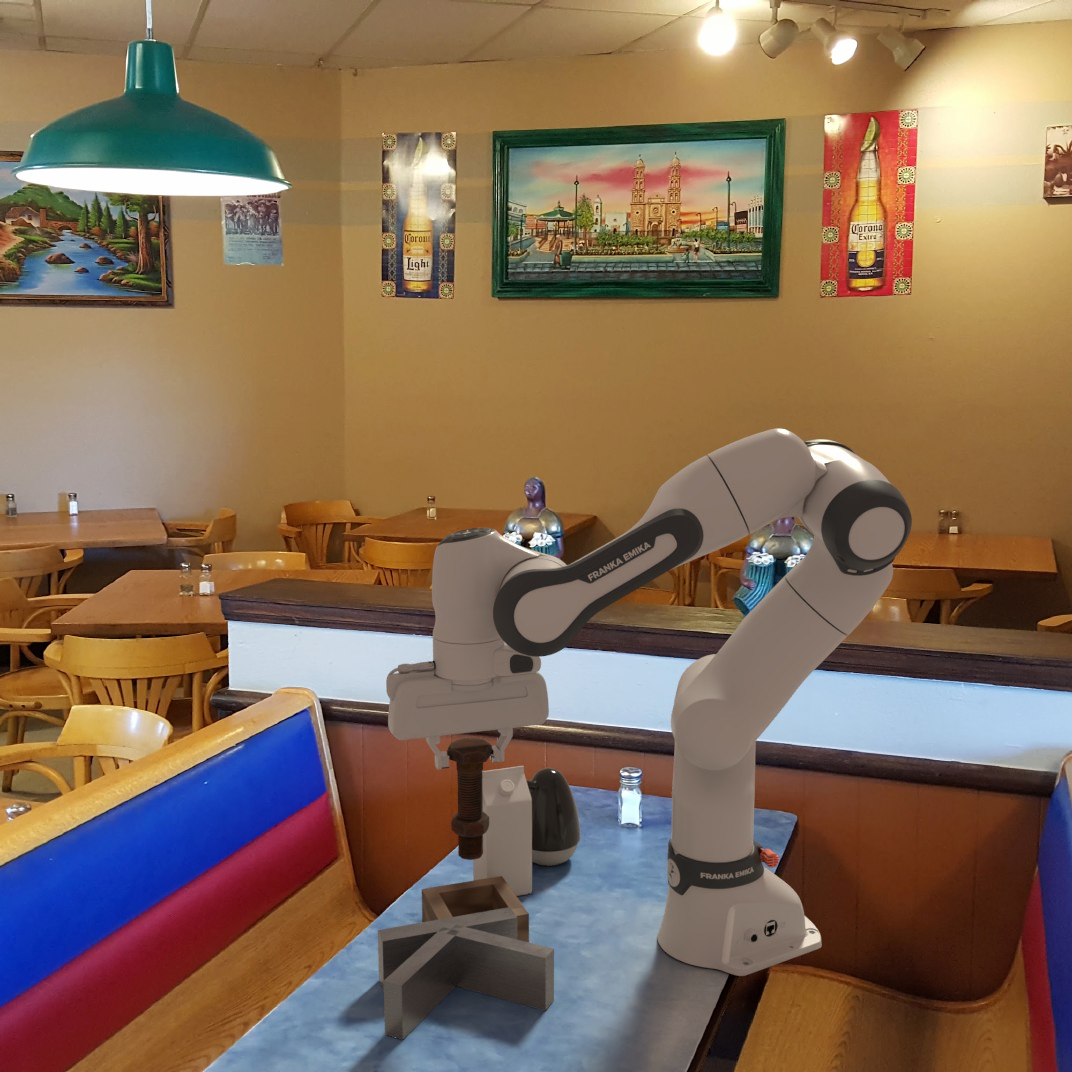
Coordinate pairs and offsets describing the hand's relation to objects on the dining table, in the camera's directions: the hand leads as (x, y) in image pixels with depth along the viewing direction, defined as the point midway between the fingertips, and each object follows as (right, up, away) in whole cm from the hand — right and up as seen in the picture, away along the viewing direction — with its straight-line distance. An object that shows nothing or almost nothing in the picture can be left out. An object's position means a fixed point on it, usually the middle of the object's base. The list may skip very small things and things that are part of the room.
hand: (469, 764), depth 143 cm
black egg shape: (+10, -23, +39) cm, 47 cm away
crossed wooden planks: (-1, -29, +1) cm, 29 cm away
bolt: (0, -13, +2) cm, 13 cm away
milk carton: (+3, -25, +29) cm, 39 cm away
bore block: (0, -27, +15) cm, 31 cm away
